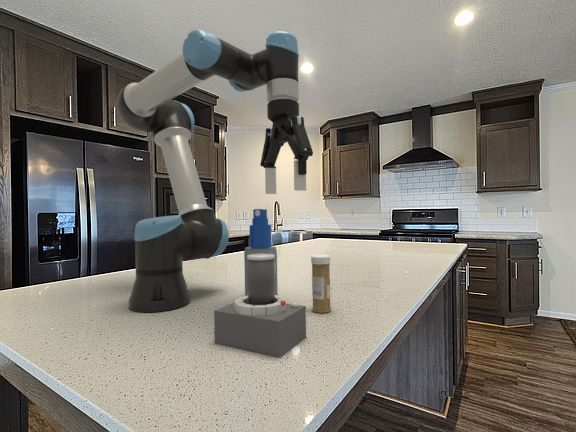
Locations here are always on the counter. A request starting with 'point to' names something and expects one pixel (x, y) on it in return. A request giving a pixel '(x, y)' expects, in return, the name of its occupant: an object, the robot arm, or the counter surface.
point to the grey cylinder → (261, 279)
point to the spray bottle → (259, 242)
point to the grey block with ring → (261, 326)
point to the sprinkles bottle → (321, 283)
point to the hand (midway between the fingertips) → (284, 192)
